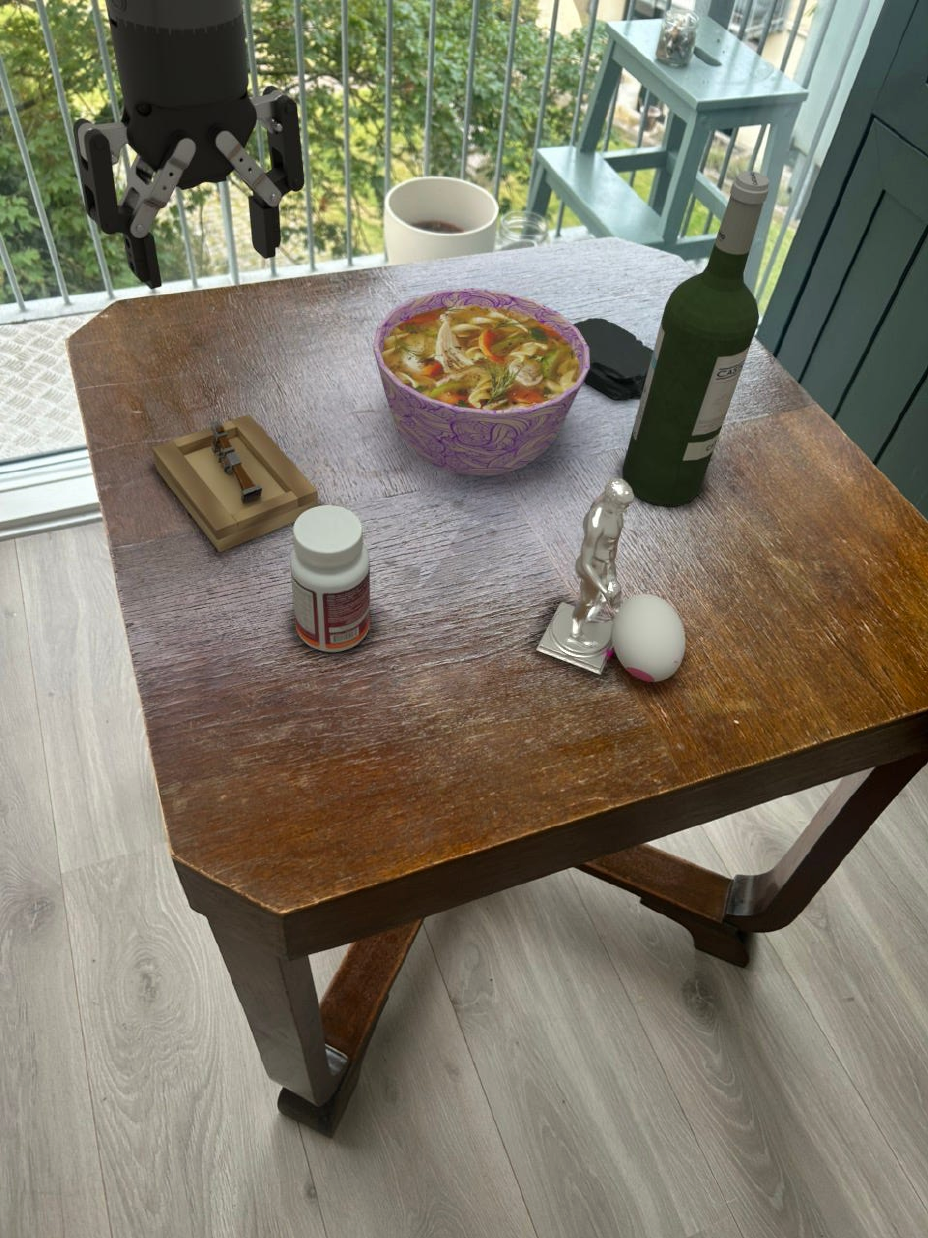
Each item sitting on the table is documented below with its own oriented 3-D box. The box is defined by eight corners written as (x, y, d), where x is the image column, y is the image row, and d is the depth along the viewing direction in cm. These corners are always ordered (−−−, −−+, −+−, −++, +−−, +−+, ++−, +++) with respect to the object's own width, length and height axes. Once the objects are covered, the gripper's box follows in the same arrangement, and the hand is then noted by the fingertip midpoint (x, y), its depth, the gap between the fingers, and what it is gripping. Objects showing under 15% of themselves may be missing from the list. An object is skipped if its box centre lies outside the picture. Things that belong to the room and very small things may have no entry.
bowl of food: (518, 372, 105) (532, 274, 96) (606, 487, 93) (631, 388, 85) (345, 406, 99) (342, 305, 90) (416, 534, 87) (421, 432, 78)
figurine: (590, 699, 76) (637, 539, 63) (516, 660, 78) (547, 496, 65) (634, 634, 81) (688, 472, 68) (564, 599, 83) (602, 434, 70)
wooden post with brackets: (219, 437, 90) (222, 411, 86) (257, 508, 89) (262, 486, 85) (201, 443, 89) (203, 417, 85) (239, 515, 88) (244, 493, 84)
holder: (219, 552, 84) (215, 530, 82) (156, 469, 90) (151, 446, 88) (318, 512, 88) (317, 490, 86) (251, 435, 94) (249, 413, 92)
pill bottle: (379, 608, 81) (380, 509, 72) (356, 662, 77) (355, 565, 68) (310, 591, 82) (303, 491, 73) (284, 645, 78) (273, 545, 69)
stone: (620, 409, 102) (625, 387, 100) (542, 356, 107) (546, 333, 105) (670, 383, 106) (676, 360, 103) (593, 332, 111) (597, 310, 109)
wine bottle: (697, 515, 92) (806, 211, 69) (616, 498, 92) (698, 191, 70) (702, 463, 97) (804, 165, 74) (625, 448, 98) (704, 147, 75)
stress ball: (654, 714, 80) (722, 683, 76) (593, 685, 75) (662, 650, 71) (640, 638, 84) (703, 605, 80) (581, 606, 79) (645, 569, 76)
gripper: (255, -33, 59) (273, 222, 71) (24, -7, 53) (87, 268, 65) (318, 5, 55) (326, 267, 67) (76, 37, 49) (133, 320, 61)
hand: (208, 267), depth 66 cm, fingers open, 8 cm apart
